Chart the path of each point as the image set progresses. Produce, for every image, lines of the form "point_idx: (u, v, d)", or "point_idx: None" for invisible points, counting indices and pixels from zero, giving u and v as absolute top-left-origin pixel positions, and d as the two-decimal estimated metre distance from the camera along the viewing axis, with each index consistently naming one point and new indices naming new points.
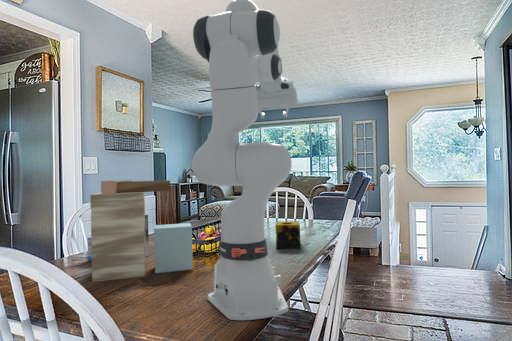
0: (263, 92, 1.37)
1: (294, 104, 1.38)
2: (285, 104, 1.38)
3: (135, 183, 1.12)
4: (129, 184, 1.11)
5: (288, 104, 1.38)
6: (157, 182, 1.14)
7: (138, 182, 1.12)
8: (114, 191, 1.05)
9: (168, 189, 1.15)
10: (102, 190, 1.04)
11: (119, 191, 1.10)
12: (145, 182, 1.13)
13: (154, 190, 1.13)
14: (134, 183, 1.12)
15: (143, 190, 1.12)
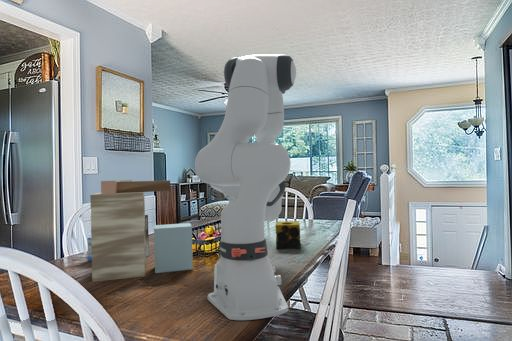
0: None
1: None
2: None
3: (135, 183, 1.12)
4: (129, 184, 1.11)
5: None
6: (157, 182, 1.14)
7: (138, 182, 1.12)
8: (114, 191, 1.05)
9: (168, 189, 1.15)
10: (102, 190, 1.04)
11: (119, 191, 1.10)
12: (145, 182, 1.13)
13: (154, 190, 1.13)
14: (134, 183, 1.12)
15: (143, 190, 1.12)
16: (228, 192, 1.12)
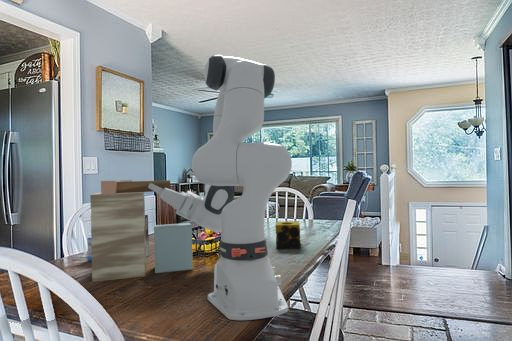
0: None
1: (167, 188, 1.07)
2: (167, 188, 1.11)
3: (135, 183, 1.12)
4: (129, 184, 1.11)
5: (167, 188, 1.10)
6: (157, 182, 1.14)
7: (138, 182, 1.12)
8: (114, 191, 1.05)
9: None
10: (102, 190, 1.04)
11: (119, 191, 1.10)
12: (145, 182, 1.13)
13: None
14: (134, 183, 1.12)
15: (143, 190, 1.12)
16: (169, 202, 1.07)
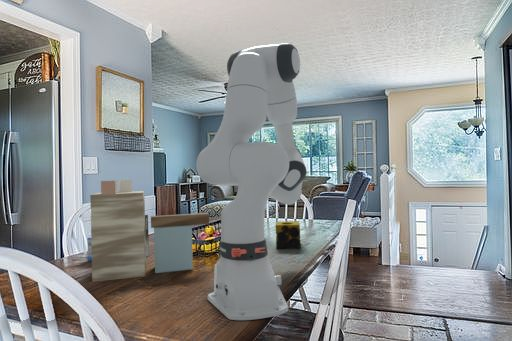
0: None
1: None
2: None
3: (176, 217, 1.15)
4: (170, 218, 1.15)
5: None
6: (196, 216, 1.17)
7: (179, 216, 1.15)
8: (114, 191, 1.05)
9: (207, 222, 1.18)
10: (102, 190, 1.04)
11: (161, 225, 1.14)
12: (185, 216, 1.16)
13: (194, 223, 1.17)
14: (175, 217, 1.15)
15: (183, 224, 1.16)
16: None
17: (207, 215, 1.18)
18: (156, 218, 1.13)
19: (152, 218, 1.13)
